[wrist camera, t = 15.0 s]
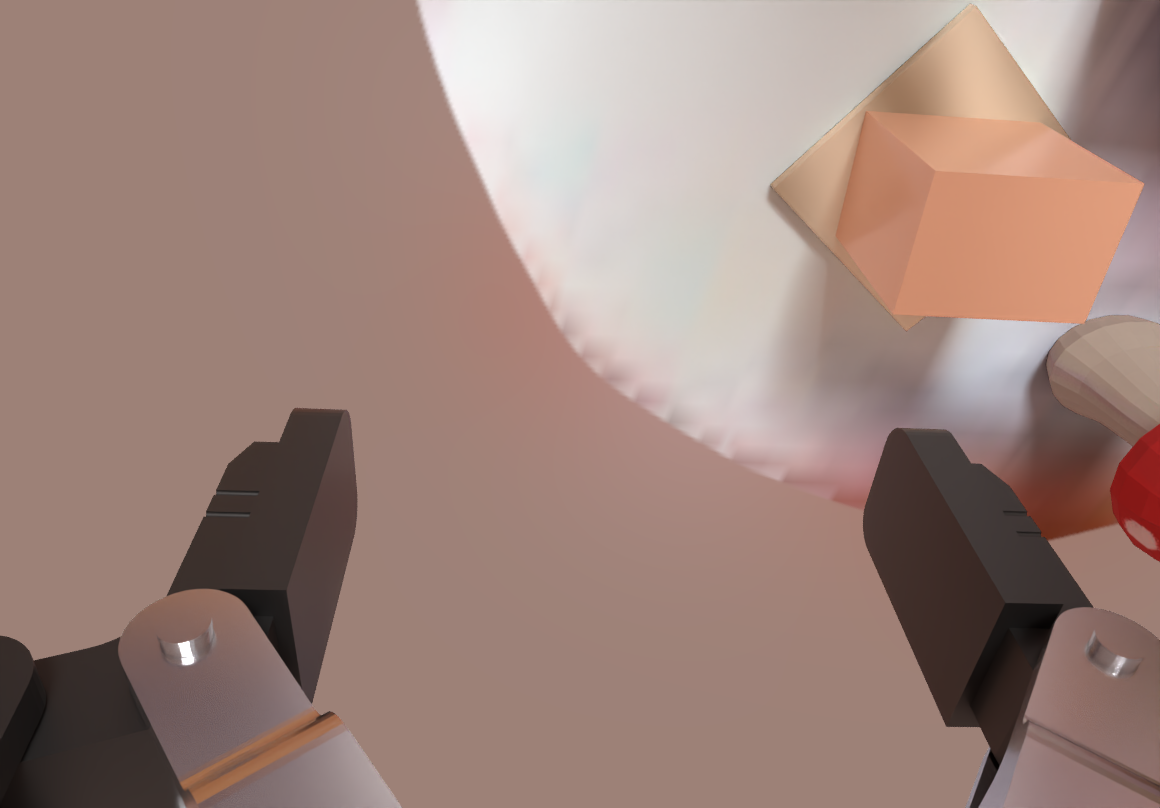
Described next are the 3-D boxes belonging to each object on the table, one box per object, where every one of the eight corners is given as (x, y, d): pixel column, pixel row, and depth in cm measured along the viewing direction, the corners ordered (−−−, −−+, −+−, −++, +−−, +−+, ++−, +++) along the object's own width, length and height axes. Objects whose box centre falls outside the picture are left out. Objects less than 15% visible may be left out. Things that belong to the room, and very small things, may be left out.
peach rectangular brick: (835, 235, 39) (892, 314, 33) (865, 110, 36) (935, 170, 30) (997, 244, 40) (1084, 323, 33) (1040, 122, 37) (1144, 183, 30)
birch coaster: (970, 3, 35) (976, 6, 34) (1093, 176, 39) (1100, 181, 38) (770, 184, 38) (773, 189, 38) (901, 325, 42) (906, 331, 42)
